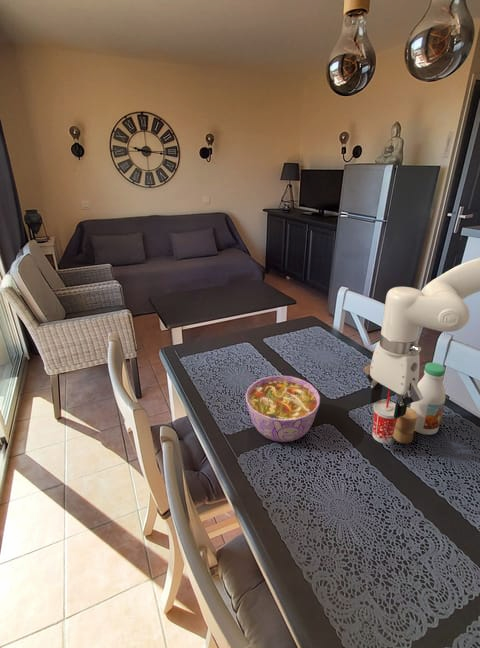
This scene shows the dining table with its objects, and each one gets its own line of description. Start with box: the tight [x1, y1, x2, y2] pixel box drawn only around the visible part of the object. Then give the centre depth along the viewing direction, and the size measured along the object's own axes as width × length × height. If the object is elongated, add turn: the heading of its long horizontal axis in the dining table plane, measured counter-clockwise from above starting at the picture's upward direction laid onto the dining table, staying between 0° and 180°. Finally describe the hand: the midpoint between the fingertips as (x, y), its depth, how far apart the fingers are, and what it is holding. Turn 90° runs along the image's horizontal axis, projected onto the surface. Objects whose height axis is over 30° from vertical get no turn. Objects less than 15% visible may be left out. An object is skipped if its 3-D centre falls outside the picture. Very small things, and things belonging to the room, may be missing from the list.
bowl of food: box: [244, 374, 321, 443], centre depth 99 cm, size 20×20×12 cm
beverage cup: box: [372, 389, 397, 444], centre depth 88 cm, size 6×6×14 cm
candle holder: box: [392, 406, 417, 444], centre depth 95 cm, size 6×6×9 cm
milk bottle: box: [409, 362, 446, 436], centre depth 97 cm, size 8×8×20 cm
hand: (387, 407), depth 87 cm, fingers closed on beverage cup, 6 cm apart
